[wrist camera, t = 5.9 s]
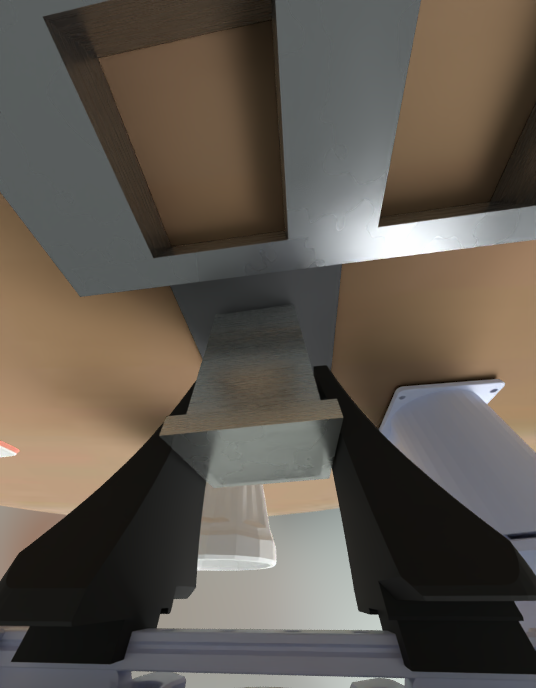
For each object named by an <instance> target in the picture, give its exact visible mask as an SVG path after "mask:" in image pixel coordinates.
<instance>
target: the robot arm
mask: <svg viewBox="0 0 536 688" xmlns="http://www.w3.org/2000/svg"><path fill="white" fill-rule="evenodd" d="M313 375H314V379H315V382H316V386H317V390H318V393H319V397H320V400H329V399H337V400H338V403H339V406H340V409H341V412H342V415H343V422H342V426H341V430H340V434H339V439H338V443H337V447H336V451H335V456H334V460H333V464H332V471H333V476H334V481H335V486H336V491H337V496H338V501H339V507H340V511H341V517H342V522H343V528H344V534H345V539H346V545H347V551H348V556H349V562H350V568H351V574H352V579H353V586H354V592H355V596H356V601H357V606H358V610H359V611H360V612H364V613H367V614H379V618H380V622H381V626H382V630H383V631H373V630H370V631H369V630H363V631H362V630H267V629H265V630H264V629H263V630H261V629H157V624H158V620H159V616H160V614H169V613H170V612H171V608H172V603H173V599H186V598H188V597H189V596H190V595H191V593H192V592H193V591H194V589H195V588H196V577H197V563H198V550H199V539H200V529H201V519H202V511H203V502H204V494H205V487H206V480H205V479H204V478H203V477H201V476H200V475H199V474H198V473H197V472H196V471H195V470H194V469H193V468H192V467H191V466H190V465H189V464H188V463H187V462H186V461H185V460H184V459H183V458H182V457H181V456H180V455H179V454H177V453H176V452H175V451H174V450H173V449H172V448H171V447H170V446H169V445H168V444H167V443H166V442H165V441H164V440H163V439H162V438H161V437H160V436H159V435H160V432H161V429H162V427H163V424H164V422H163V424H162V425H161V426H160V427H159V428H158V430H157V431H156V432H155V433H154V434H153V435H152V436H151V438H150V439H149V440H148V441H147V442H146V443H145V444H144V445H143V446H142V447H141V448H140V449H139V450H138V451H137V453H136V454H135V455H134V456H133V457H132V458H131V459H130V460H129V461H128V462H127V463H126V464H124V465H123V466H122V467H121V468H120V469H119V470H118V471H117V472H116V473H115V474H114V475H113V476H112V477H111V478H110V479H109V480H107V481H106V482H105V483H104V484H103V485H102V486H101V487H100V488H99V489H98V490H96V491H95V492H94V493H93V494H92V495H91V496H90V497H88V498H87V499H86V500H85V501H84V502H82V503H81V504H80V505H79V506H78V507H77V508H75V509H74V510H73V511H72V512H71V513H69V514H68V515H67V516H66V517H65V518H64V519H62V520H61V521H60V522H58V523H57V524H56V525H54V526H53V527H52V528H51V529H49V530H48V531H47V532H46V533H44V534H43V535H42V536H41V537H39V538H38V539H37V540H36V541H34V542H33V543H32V544H30V545H29V546H28V547H27V548H25V549H24V550H23V551H21V552H20V553H19V554H18V555H17V557H16V558H15V560H14V561H13V563H12V564H11V566H10V567H9V569H8V570H7V572H6V573H5V575H4V576H3V578H2V579H1V581H0V688H185V684H186V679H185V677H184V676H181V675H179V674H176V673H173V672H192V673H230V674H267V675H306V676H344V677H382V678H375V679H369V680H364V681H358V682H353V683H352V684H351V687H350V688H536V453H535V452H534V451H533V450H532V449H531V448H530V447H529V446H528V445H527V444H526V443H525V442H524V441H523V440H522V439H521V438H520V437H519V436H518V435H517V434H516V433H515V432H514V431H513V430H512V429H511V428H510V427H509V426H508V425H507V424H506V423H505V422H504V421H503V420H502V419H501V418H500V417H499V416H498V415H497V414H496V413H495V412H494V411H493V410H492V409H491V408H490V407H489V406H488V405H487V404H488V403H489V402H490V400H491V399H492V398H493V397H494V396H495V395H496V394H497V393H498V392H499V391H500V390H501V389H502V388H503V387H504V385H505V383H504V382H503V381H502V380H500V379H490V380H478V381H465V382H452V383H440V384H427V385H414V386H403V387H399V388H398V389H397V390H396V391H395V393H394V396H393V398H392V400H391V403H390V405H389V407H388V410H387V412H386V414H385V417H384V419H383V421H382V424H381V426H380V428H379V430H378V429H377V428H376V427H375V425H374V424H373V423H372V422H371V421H370V420H369V419H368V418H367V417H366V416H365V414H364V413H363V412H362V411H361V410H360V409H359V408H358V406H357V405H356V404H355V403H354V402H353V400H352V399H351V398H350V397H349V395H348V394H347V393H346V392H345V390H344V389H343V388H342V386H341V385H340V383H339V382H338V381H337V379H336V378H335V376H334V375H333V373H332V372H331V370H330V369H329V367H328V366H327V365H323V366H314V368H313ZM195 383H196V381H195ZM195 383H194V384H193V385H192V387H191V388H190V389H189V391H188V392H187V393H186V395H185V396H184V397H183V399H182V400H181V401H180V403H179V404H178V405H177V406H176V408H175V409H174V410H173V412H172V413H171V414H170V415H169V416H175V415H185V414H187V410H188V407H189V404H190V400H191V397H192V394H193V390H194V387H195ZM131 671H153V673H150V674H147V675H143V676H140V677H137V678H134V679H132V677H131ZM383 677H384V678H383ZM385 678H405V686H403V685H402V684H400V683H397V682H396V681H393V680H390V679H385ZM246 688H280V687H246Z"/></svg>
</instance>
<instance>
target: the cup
mask: <svg viewBox="0 0 536 688" xmlns="http://www.w3.org/2000/svg"><path fill="white" fill-rule="evenodd" d="M276 563H277V561H276V546H275V543H274V540H273V536H272V533H271V531H270V526H269V520H268V514H267V508H266V502H265V496H264V490H263V484H257V485H245V486H233V487H221V488H213V487H212V486H211V485H210V484H209V483H208V482H207V481H206V487H205V494H204V502H203V511H202V519H201V529H200V539H199V550H198V563H197V570H213V571H218V570H219V571H222V570H223V571H225V570H226V571H227V570H254V569H264V568H270V567H273V566H275V565H276Z"/></svg>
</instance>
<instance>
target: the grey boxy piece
mask: <svg viewBox="0 0 536 688" xmlns="http://www.w3.org/2000/svg"><path fill="white" fill-rule="evenodd" d="M342 422H343V415H342V412H341V409H340V406H339V403H338V400H337V399H329V400H320V397H319V393H318V390H317V386H316V382H315V379H314V375H313V371H312V368H311V364H310V361H309V357H308V353H307V350H306V346H305V343H304V339H303V335H302V332H301V328H300V325H299V321H298V317H297V314H296V310H295V307H294V305H286V306H278V307H270V308H263V309H255V310H247V311H239V312H232V313H224V314H216V316H215V319H214V323H213V326H212V330H211V333H210V336H209V340H208V343H207V346H206V350H205V353H204V356H203V360H202V363H201V367H200V370H199V373H198V377H197V380H196V383H195V387H194V390H193V394H192V397H191V400H190V404H189V407H188V410H187V414H185V415H175V416H166V419H165V421H164V424H163V427H162V429H161V432H160V435H159V436H160V437H161V438H162V439H163V440H164V441H165V442H166V443H167V444H168V445H169V446H170V447H171V448H172V449H173V450H174V451H175V452H176V453H177V454H179V455H180V456H181V457H182V458H183V459H184V460H185V461H186V462H187V463H188V464H189V465H190V466H191V467H192V468H193V469H194V470H195V471H196V472H197V473H198V474H199V475H200V476H201V477H203V478H204V479H205V480H206V481H207V482H208V483H209V484H210V485H211V486H212V487H213V488H221V487H233V486H245V485H257V484H269V483H280V482H292V481H304V480H316V479H328V478H329V477H330V473H331V468H332V464H333V460H334V456H335V451H336V447H337V443H338V439H339V434H340V430H341V426H342Z"/></svg>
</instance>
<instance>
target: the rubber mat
mask: <svg viewBox="0 0 536 688" xmlns="http://www.w3.org/2000/svg"><path fill="white" fill-rule="evenodd" d="M341 268H342V264H337V265H329V266H321V267H313V268H305V269H297V270H289V271H281V272H273V273H265V274H257V275H249V276H241V277H233V278H225V279H218V280H210V281H202V282H194V283H186V284H178V285H170V287H171V289H172V291H173V294H174V296H175V298H176V300H177V302H178V305H179V307H180V309H181V311H182V314H183V316H184V318H185V320H186V323H187V325H188V327H189V329H190V332H191V334H192V336H193V338H194V341H195V343H196V345H197V347H198V350H199V352H200V354H201V356H202V359H203V356H204V353H205V350H206V346H207V343H208V340H209V336H210V333H211V330H212V326H213V323H214V319H215V316H216V314H224V313H232V312H239V311H247V310H255V309H263V308H270V307H278V306H286V305H294V307H295V310H296V314H297V317H298V321H299V325H300V328H301V332H302V335H303V339H304V343H305V346H306V350H307V353H308V357H309V361H310V364H311V368H312V371H313V368H314V366H323V365H327V366H328V367H329V369H330V370H331V366H332V356H333V346H334V336H335V327H336V317H337V307H338V297H339V288H340V278H341Z"/></svg>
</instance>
